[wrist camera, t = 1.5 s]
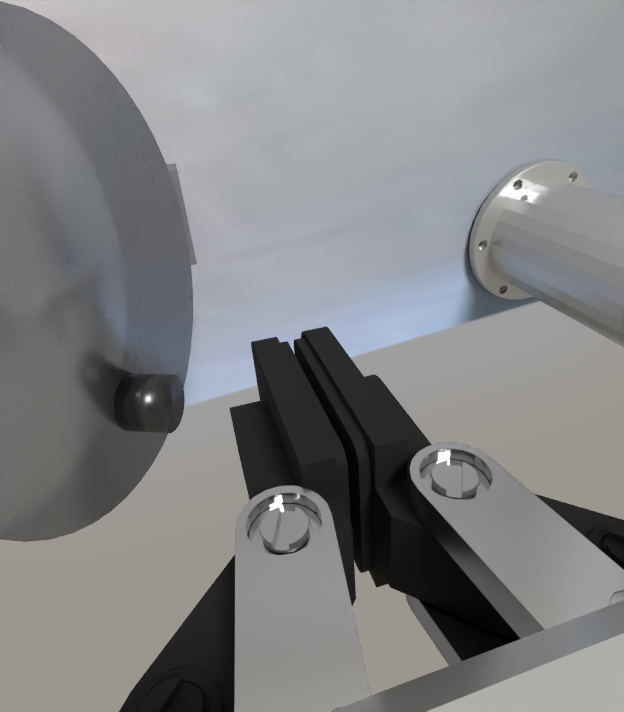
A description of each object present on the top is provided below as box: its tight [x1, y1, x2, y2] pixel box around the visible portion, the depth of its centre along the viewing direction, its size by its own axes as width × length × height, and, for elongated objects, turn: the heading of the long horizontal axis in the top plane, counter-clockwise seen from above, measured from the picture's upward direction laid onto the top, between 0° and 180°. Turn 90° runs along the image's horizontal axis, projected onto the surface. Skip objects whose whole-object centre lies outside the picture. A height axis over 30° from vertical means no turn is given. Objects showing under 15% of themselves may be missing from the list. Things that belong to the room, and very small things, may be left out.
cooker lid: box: [0, 1, 193, 542], centre depth 16 cm, size 20×17×3 cm
